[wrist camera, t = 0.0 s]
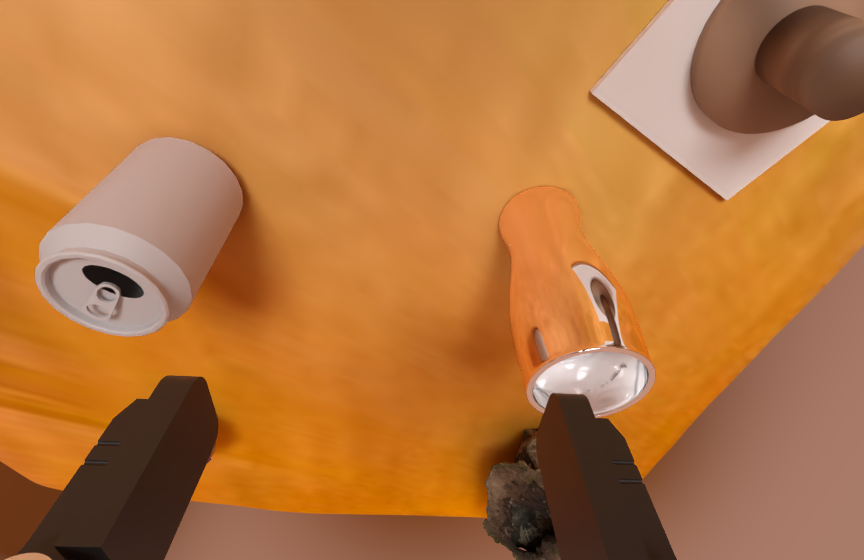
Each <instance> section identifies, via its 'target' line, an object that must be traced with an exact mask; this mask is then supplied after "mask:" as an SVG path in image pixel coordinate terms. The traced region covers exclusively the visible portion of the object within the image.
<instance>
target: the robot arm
mask: <svg viewBox="0 0 864 560" xmlns="http://www.w3.org/2000/svg"><path fill="white" fill-rule="evenodd" d="M217 434H218V418H217V415H216V411H215V408H214V405H213V402H212V398H211V395H210V392H209V389H208V385H207V382H206V380H205V379H204V378H203V377H192V376H165V377H164V378H163V379H162V380H161V381H160V382H159V384H158V385H157V387H156V388H155V390H154V391H153V393H152V394H151V396H150V398H149V399H136V400H135V401H134V402H133V403H132V404H130V405H129V406H128V407H127V408H125V409H124V410H123V411H122V412H121V413H119V414H118V415H117V416H116V417H114V418H113V420H112V421H111V423H110V424H109V426H108V427H107V429H106V430H105V431H104V433H103V434H102V436H101V437H100V439H99V440H98V444H97V446H94V447H93V449H92V450H91V452H90V453H89V454H88V456H87V457H86V459H85V463H84V465H81V466H80V467H79V469H78V470H77V472H76V473H75V475H74V476H73V478H72V479H71V480H70V482H69V483H68V485H67V486H66V488H65V489H64V490H63V492H62V494H61V495H60V496H59V498H58V499H57V501H56V502H55V503H54V505H53V506H52V508H51V509H50V511H49V512H48V513H47V515H46V516H45V518H44V520H43V521H42V522H41V524H40V525H39V526H38V528H37V530H36V531H35V532H34V534H33V535H32V537H31V538H30V539H29V541H28V542H27V543H26V544H25V546H24V547H23V548H22V549H21V550H20V551H19V552H18V554H17V555H15V556H13V557H10V558H8V559H5V560H164V558H165V556H166V554H167V552H168V549H169V547H170V545H171V543H172V540H173V538H174V535H175V533H176V531H177V529H178V527H179V524H180V522H181V520H182V518H183V515H184V513H185V511H186V508H187V506H188V504H189V502H190V500H191V497H192V495H193V493H194V491H195V488H196V486H197V484H198V481H199V479H200V477H201V475H202V472H203V470H204V468H205V466H206V463H207V461H208V459H209V457H210V454H211V452H212V450H213V448H214V445H215V442H216V438H217ZM536 452H537V459H538V463H539V467H540V472H541V476H542V480H543V485H544V489H545V493H546V498H547V502H548V506H549V511H550V515H551V519H552V524H553V528H554V532H555V536H556V541H557V545H558V549H559V554H560V558H561V560H677V559H676V557H675V555H674V553H673V550H672V548H671V545H670V543H669V541H668V538H667V536H666V534H665V531H664V529H663V527H662V524H661V522H660V520H659V518H658V515H657V513H656V510H655V508H654V506H653V503H652V501H651V499H650V496H649V494H648V492H647V489H646V487H645V485H644V484H643V483H642V478H641V475H640V473H639V471H638V468H637V466H636V465H634V459H633V457H632V454H631V452H630V450H629V447H628V445H627V443H626V440H625V438H624V437H623V436H622V435H621V433H620V432H619V431H618V430H617V429H616V428H615V427H614V425H613V424H612V423H611V422H610V421H609V420H608V419H603V418H595V415H594V413H593V410H592V408H591V405H590V402H589V400H588V398H587V397H586V396H585V395H584V394H565V393H552V394H551V395H550V397H549V399H548V402H547V405H546V408H545V411H544V414H543V417H542V420H541V423H540V426H539V428H538V432H537V437H536Z"/></svg>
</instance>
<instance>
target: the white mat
mask: <svg viewBox="0 0 864 560" xmlns="http://www.w3.org/2000/svg"><path fill="white" fill-rule="evenodd" d="M719 2H720V0H669V1H668V2H667V3H666V4H665V5H664V6H663V8H662V9H661V10H660V11H659V12H658V13H657V14H656V16H655V17H654V18H653V19H652V20H651V21H650V22H649V24H648V25H647V26H646V27H645V28H644V29H643V30H642V32H641V33H640V34H639V35H638V36H637V37H636V38H635V40H634V41H633V42H632V43H631V44H630V45H629V46H628V48H627V49H626V50H625V51H624V52H623V53H622V54H621V56H620V57H619V58H618V59H617V60H616V61H615V62H614V64H613V65H612V66H611V67H610V68H609V69H608V70H607V72H606V73H605V74H604V75H603V76H602V77H601V78H600V80H599V81H598V82H597V83H596V84H595V85H594V86H593V88H592V89H591V90H590V92H591V93H592V94H593V95H594V96H596V97H597V98H598V99H599V100H601V101H602V102H603V103H604V104H606V105H607V106H608V107H609V108H611V109H612V110H613V111H615V112H616V113H617V114H618V115H620V116H621V117H622V118H623V119H625V120H626V121H627V122H628V123H630V124H631V125H632V126H633V127H635V128H636V129H637V130H638V131H640V132H641V133H642V134H643V135H645V136H646V137H647V138H649V139H650V140H651V141H652V142H654V143H655V144H656V145H657V146H659V147H660V148H661V149H662V150H664V151H665V152H666V153H667V154H669V155H670V156H671V157H672V158H674V159H675V160H676V161H677V162H679V163H680V164H681V165H682V166H684V167H685V168H686V169H688V170H689V171H690V172H691V173H693V174H694V175H695V176H696V177H698V178H699V179H700V180H701V181H703V182H704V183H705V184H706V185H708V186H709V187H710V188H711V189H713V190H714V191H715V192H716V193H718V194H719V195H720V196H722V197H723V198H724V199H725V200H728V199H730V198H731V197H732V196H733V195H735V194H736V193H737V192H739V191H740V190H741V189H743V188H744V187H745V186H746V185H748V184H749V183H750V182H752V181H753V180H754V179H756V178H757V177H758V176H759V175H761V174H762V173H763V172H765V171H766V170H767V169H768V168H770V167H771V166H772V165H774V164H775V163H776V162H778V161H779V160H780V159H781V158H783V157H784V156H785V155H787V154H788V153H789V152H791V151H792V150H793V149H794V148H796V147H797V146H798V145H800V144H801V143H802V142H803V141H805V140H806V139H807V138H809V137H810V136H811V135H813V134H814V133H815V132H816V131H818V130H819V129H820V128H822V127H823V126H824V125H825V124H827V123H828V122H829V121H830V120H825V119H822V118H820V117H818V116H816V115H813V116H811V117H809V118H808V119H806V120H804V121H801V122H799V123H797V124H795V125H792V126H789V127H786V128H783V129H780V130H776V131H772V132H768V133H760V134H743V133H736V132H732V131H729V130H726V129H724V128H722V127H720V126H719V125H717V124H716V123H714V122H713V121H712V120H711V119H710V118H709V117H707V116H706V115H705V114H704V113H703V111H702V110H701V109H700V108H699V106H698V105H697V103H696V101H695V99H694V96H693V93H692V89H691V83H690V70H691V62H692V57H693V53H694V49H695V46H696V44H697V41H698V38H699V36H700V34H701V32H702V29H703V27H704V25H705V23H706V22H707V20H708V18H709V17H710V15H711V13H712V12H713V10H714V9H715V7H716V6H717V5H718V3H719Z"/></svg>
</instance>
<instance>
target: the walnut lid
mask: <svg viewBox="0 0 864 560" xmlns="http://www.w3.org/2000/svg"><path fill="white" fill-rule="evenodd" d="M690 83H691V89H692V93H693V96H694V99H695V101H696V103H697V105H698V106H699V108H700V109H701V110H702V111H703V113H704V114H705V115H706V116H707V117H709V118H710V119H711V120H712V121H713V122H714V123H716V124H717V125H719V126H720V127H722V128H724V129H726V130H729V131H732V132H736V133H743V134H760V133H768V132H772V131H776V130H780V129H783V128H786V127H789V126H792V125H795V124H797V123H799V122H801V121H804V120H806V119H808V118H809V117H811V116H813V115H816V116H818V117H820V118H822V119H825V120H830V121H838V120H844V119H848V118H851V117H854V116H857V115H859V114H861V113H863V112H864V0H720V2H719V3H718V5H717V6H716V7H715V9H714V10H713V12H712V13H711V15H710V17H709V18H708V20H707V22H706V23H705V25H704V27H703V29H702V32H701V34H700V36H699V38H698V41H697V44H696V46H695V49H694V53H693V57H692V62H691V70H690Z"/></svg>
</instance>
